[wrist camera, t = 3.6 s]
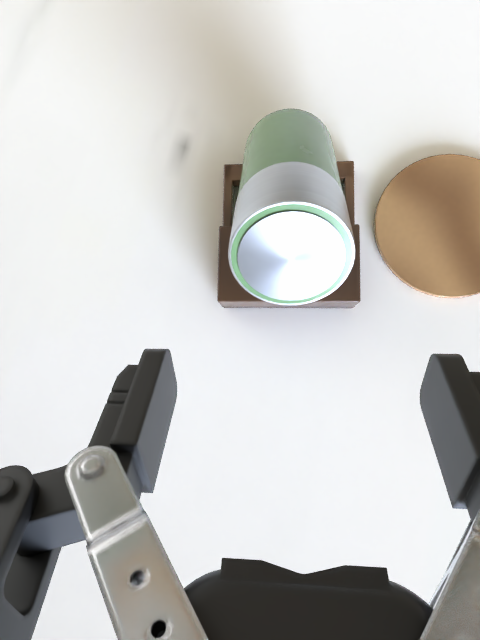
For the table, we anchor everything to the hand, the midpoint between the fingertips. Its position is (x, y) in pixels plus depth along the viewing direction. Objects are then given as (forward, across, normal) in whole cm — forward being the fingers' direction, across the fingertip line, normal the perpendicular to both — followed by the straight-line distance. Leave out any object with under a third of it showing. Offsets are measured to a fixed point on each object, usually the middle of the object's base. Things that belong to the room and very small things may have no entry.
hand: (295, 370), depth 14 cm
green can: (+14, 0, 0) cm, 14 cm away
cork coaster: (+18, -11, +4) cm, 22 cm away
